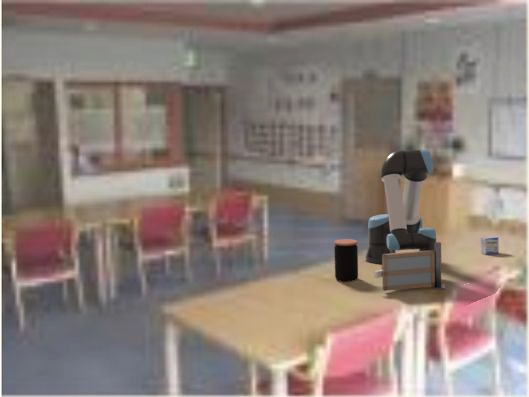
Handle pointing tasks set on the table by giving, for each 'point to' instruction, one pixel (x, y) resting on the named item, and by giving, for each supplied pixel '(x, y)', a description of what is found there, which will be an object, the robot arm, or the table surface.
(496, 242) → the medicine box
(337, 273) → the coffee jar
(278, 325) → the table surface
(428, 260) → the gate leaf
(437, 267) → the hinge post
